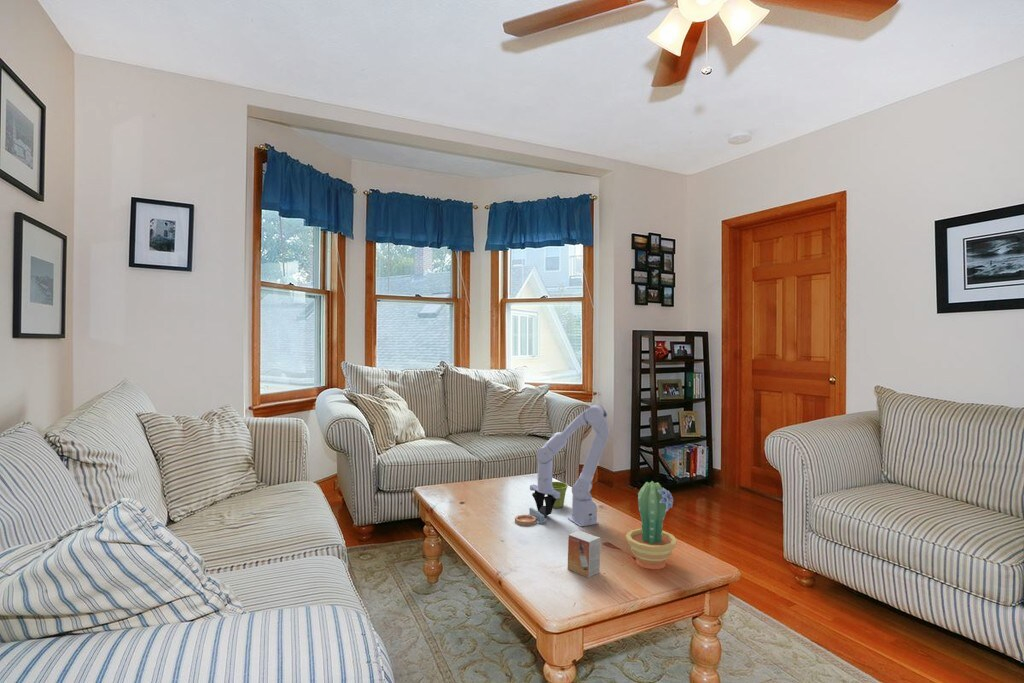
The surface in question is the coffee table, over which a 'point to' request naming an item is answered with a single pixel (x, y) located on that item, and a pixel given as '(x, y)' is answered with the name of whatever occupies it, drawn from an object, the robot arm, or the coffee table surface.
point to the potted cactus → (652, 528)
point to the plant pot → (562, 489)
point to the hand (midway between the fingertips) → (544, 512)
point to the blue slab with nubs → (537, 515)
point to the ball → (543, 511)
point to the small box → (584, 553)
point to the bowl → (525, 520)
